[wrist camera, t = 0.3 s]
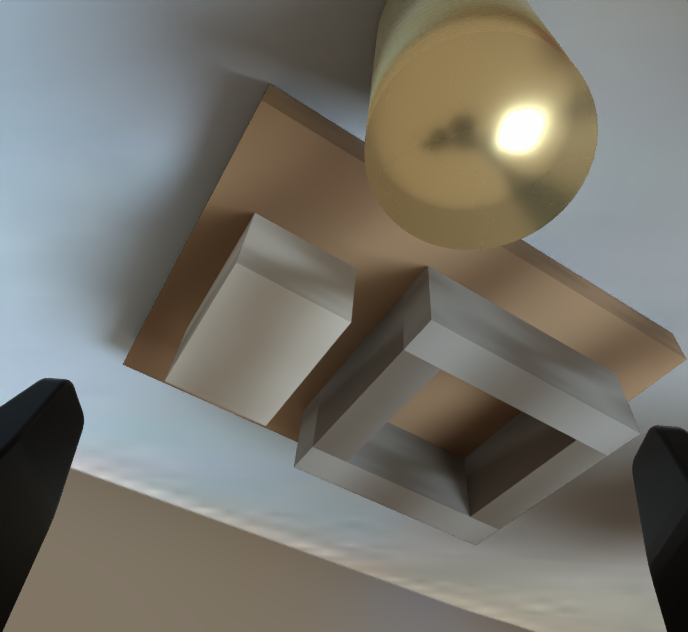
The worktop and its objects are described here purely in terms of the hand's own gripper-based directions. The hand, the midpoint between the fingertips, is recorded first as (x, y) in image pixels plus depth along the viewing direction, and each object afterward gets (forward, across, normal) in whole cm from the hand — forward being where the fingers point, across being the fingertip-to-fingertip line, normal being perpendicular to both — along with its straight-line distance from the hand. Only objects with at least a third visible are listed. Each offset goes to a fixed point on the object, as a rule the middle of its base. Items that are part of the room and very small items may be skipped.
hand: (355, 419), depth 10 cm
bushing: (+13, -2, -2) cm, 13 cm away
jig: (+13, -1, +9) cm, 16 cm away
